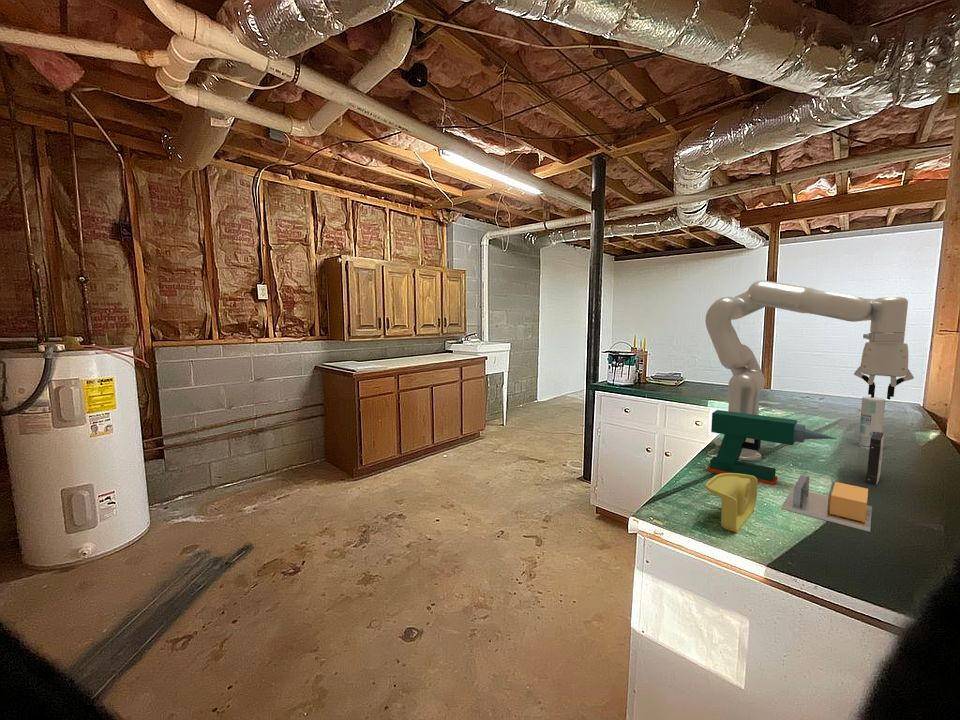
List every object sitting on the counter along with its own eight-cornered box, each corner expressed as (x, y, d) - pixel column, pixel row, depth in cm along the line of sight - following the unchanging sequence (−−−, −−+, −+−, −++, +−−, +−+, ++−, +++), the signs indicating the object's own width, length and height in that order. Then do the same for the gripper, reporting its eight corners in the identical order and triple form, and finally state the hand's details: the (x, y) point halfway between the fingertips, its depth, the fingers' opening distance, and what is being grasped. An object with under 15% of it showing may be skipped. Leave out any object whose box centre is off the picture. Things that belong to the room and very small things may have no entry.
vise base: (781, 509, 108) (783, 487, 108) (791, 491, 119) (793, 471, 119) (870, 532, 96) (872, 507, 96) (871, 510, 108) (873, 487, 107)
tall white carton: (885, 450, 157) (890, 399, 155) (868, 450, 157) (873, 399, 155) (869, 445, 164) (874, 396, 162) (853, 445, 164) (857, 396, 162)
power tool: (833, 491, 120) (839, 425, 118) (832, 499, 115) (838, 429, 113) (712, 465, 141) (715, 409, 140) (707, 471, 136) (710, 412, 134)
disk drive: (878, 486, 123) (882, 439, 122) (865, 484, 125) (869, 437, 124) (880, 477, 130) (884, 432, 129) (868, 475, 132) (872, 430, 131)
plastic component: (735, 536, 95) (737, 494, 94) (700, 525, 100) (702, 485, 99) (756, 508, 109) (758, 472, 108) (725, 500, 114) (726, 465, 113)
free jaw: (827, 512, 103) (828, 494, 103) (831, 498, 112) (833, 481, 111) (865, 522, 98) (866, 503, 98) (866, 506, 107) (868, 488, 106)
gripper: (849, 337, 126) (844, 396, 128) (927, 339, 115) (920, 403, 117) (850, 337, 132) (845, 393, 133) (925, 339, 120) (918, 400, 122)
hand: (880, 397), depth 125 cm, fingers open, 3 cm apart
